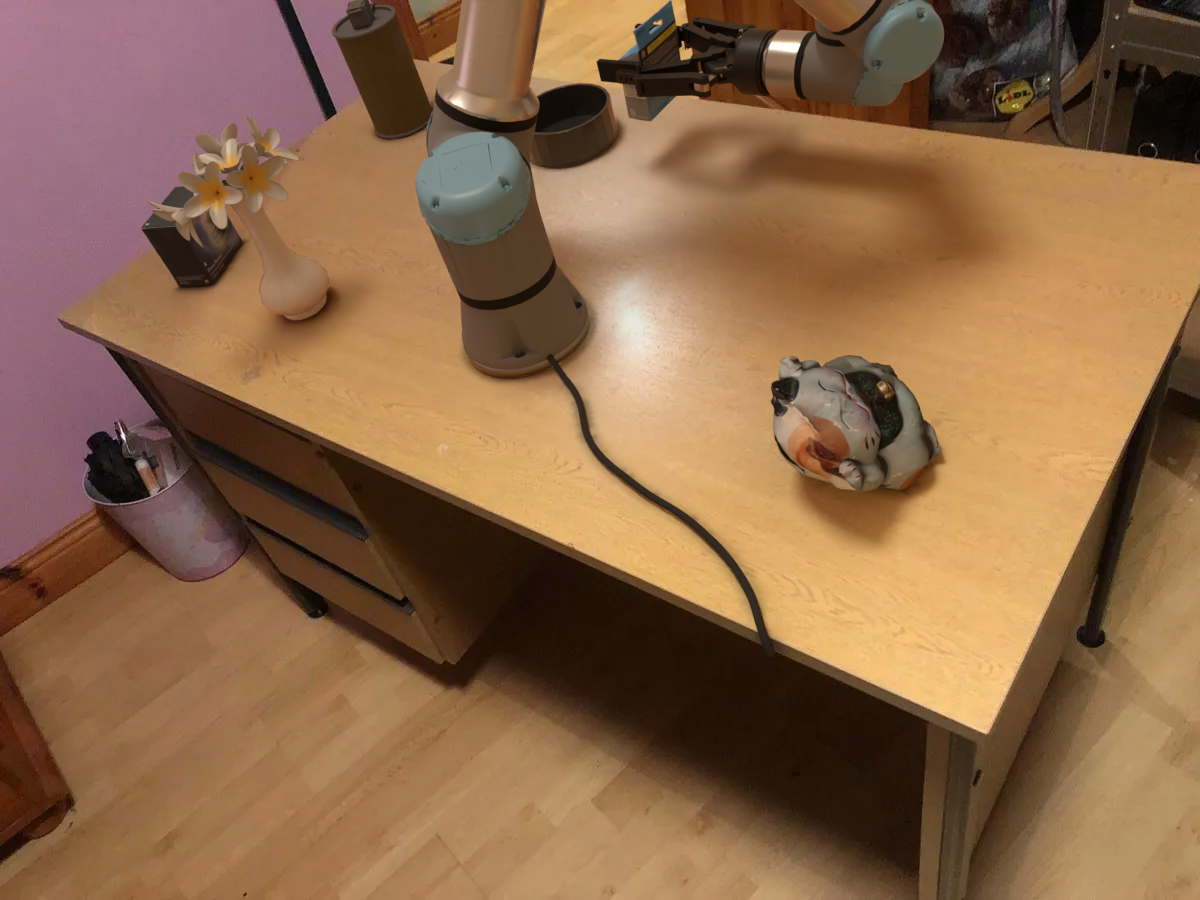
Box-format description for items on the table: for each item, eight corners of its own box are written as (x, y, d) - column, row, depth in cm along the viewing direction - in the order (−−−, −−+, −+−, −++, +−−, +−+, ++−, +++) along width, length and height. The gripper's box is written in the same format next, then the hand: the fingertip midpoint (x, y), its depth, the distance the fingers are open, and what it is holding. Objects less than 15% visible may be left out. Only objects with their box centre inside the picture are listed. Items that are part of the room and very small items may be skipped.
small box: (215, 286, 137) (176, 225, 129) (178, 288, 139) (137, 229, 131) (246, 241, 143) (210, 181, 136) (210, 244, 145) (173, 185, 138)
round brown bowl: (637, 126, 140) (629, 92, 136) (573, 177, 134) (563, 142, 130) (571, 110, 148) (562, 76, 144) (508, 156, 143) (497, 123, 139)
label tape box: (662, 86, 131) (646, -4, 122) (687, 89, 129) (673, -2, 120) (628, 119, 127) (608, 29, 118) (653, 122, 125) (635, 31, 116)
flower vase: (226, 345, 126) (114, 183, 108) (315, 261, 135) (226, 99, 117) (292, 364, 119) (185, 196, 102) (381, 274, 129) (298, 105, 111)
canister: (430, 131, 154) (382, 9, 140) (371, 144, 156) (317, 25, 141) (438, 99, 161) (393, -20, 147) (381, 112, 163) (331, -5, 149)
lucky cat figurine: (962, 481, 84) (922, 437, 73) (841, 538, 89) (786, 505, 78) (892, 347, 91) (846, 289, 80) (783, 407, 96) (725, 359, 85)
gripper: (736, 139, 111) (581, 120, 123) (814, 49, 122) (664, 40, 133) (728, 79, 106) (567, 65, 117) (810, -10, 116) (655, -14, 128)
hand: (619, 52), depth 125 cm, fingers closed on label tape box, 9 cm apart
